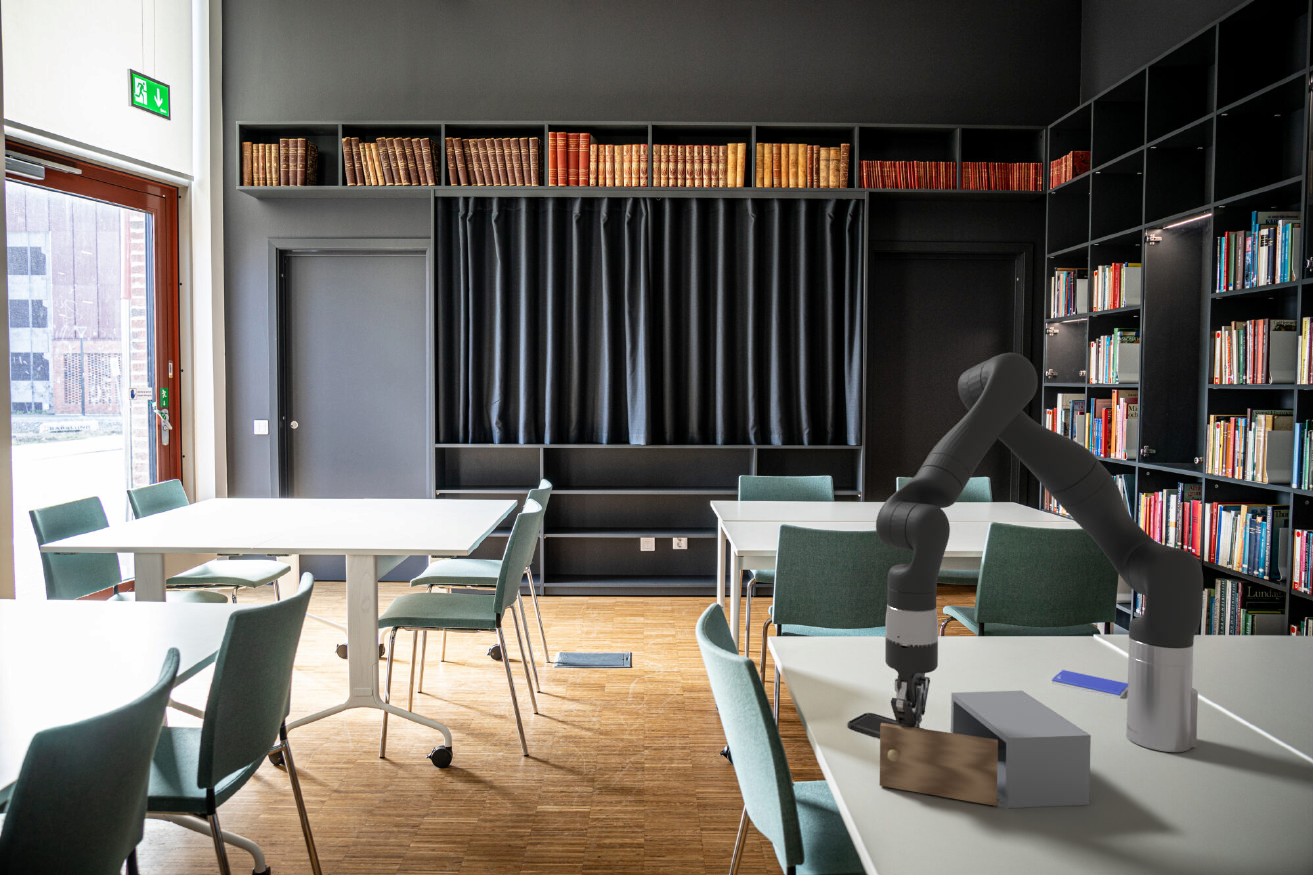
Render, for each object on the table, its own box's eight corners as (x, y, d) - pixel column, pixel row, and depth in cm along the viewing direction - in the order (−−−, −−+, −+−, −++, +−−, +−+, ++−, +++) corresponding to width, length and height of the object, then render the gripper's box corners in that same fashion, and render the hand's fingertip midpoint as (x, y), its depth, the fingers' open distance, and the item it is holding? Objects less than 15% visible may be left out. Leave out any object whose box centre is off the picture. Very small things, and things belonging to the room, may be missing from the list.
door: (996, 802, 115) (997, 739, 114) (996, 809, 113) (997, 745, 112) (880, 781, 121) (881, 722, 120) (878, 788, 119) (879, 728, 118)
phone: (868, 711, 147) (946, 735, 137) (867, 717, 147) (946, 741, 137) (844, 723, 142) (924, 749, 131) (844, 729, 142) (924, 755, 131)
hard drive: (1051, 678, 165) (1120, 693, 156) (1063, 669, 171) (1129, 682, 163) (1051, 686, 165) (1120, 701, 156) (1062, 676, 171) (1129, 690, 163)
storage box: (1020, 750, 132) (1022, 690, 132) (1089, 804, 115) (1090, 735, 114) (950, 753, 131) (951, 692, 131) (1008, 808, 114) (1009, 738, 113)
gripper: (899, 620, 129) (898, 727, 129) (872, 642, 117) (872, 759, 118) (947, 627, 124) (946, 737, 125) (925, 651, 113) (924, 771, 114)
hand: (910, 748), depth 122 cm, fingers closed
